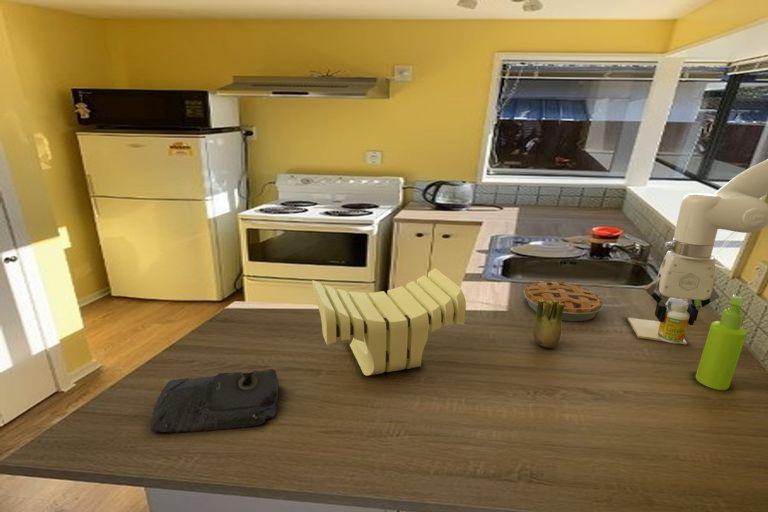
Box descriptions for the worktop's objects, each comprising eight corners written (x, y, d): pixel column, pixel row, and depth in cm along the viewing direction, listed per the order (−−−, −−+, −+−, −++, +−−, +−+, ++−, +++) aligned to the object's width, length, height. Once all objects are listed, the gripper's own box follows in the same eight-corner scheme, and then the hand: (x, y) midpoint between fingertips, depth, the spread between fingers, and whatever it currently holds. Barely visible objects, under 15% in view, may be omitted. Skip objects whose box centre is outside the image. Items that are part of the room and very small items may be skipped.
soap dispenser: (691, 383, 91) (717, 297, 85) (698, 370, 96) (723, 288, 89) (725, 395, 87) (755, 307, 81) (731, 382, 92) (759, 297, 85)
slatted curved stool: (327, 390, 86) (326, 310, 80) (314, 350, 100) (312, 279, 94) (460, 366, 95) (467, 293, 89) (431, 332, 109) (435, 268, 103)
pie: (534, 322, 116) (536, 306, 114) (513, 291, 137) (515, 276, 135) (615, 325, 115) (618, 309, 114) (582, 293, 136) (585, 279, 135)
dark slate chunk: (170, 383, 86) (167, 363, 85) (281, 375, 90) (279, 355, 88) (143, 437, 72) (138, 414, 71) (275, 424, 76) (274, 402, 74)
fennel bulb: (529, 343, 105) (536, 299, 101) (539, 337, 108) (546, 294, 105) (551, 353, 101) (559, 307, 97) (561, 346, 104) (569, 301, 100)
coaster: (671, 325, 117) (672, 323, 116) (686, 344, 107) (687, 342, 106) (627, 319, 119) (627, 317, 119) (638, 337, 109) (638, 335, 109)
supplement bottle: (661, 342, 101) (670, 305, 98) (653, 332, 106) (661, 296, 103) (687, 345, 100) (696, 307, 97) (677, 334, 105) (686, 298, 102)
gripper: (653, 250, 95) (638, 323, 100) (744, 257, 90) (723, 333, 96) (644, 241, 101) (630, 310, 107) (727, 247, 97) (708, 318, 103)
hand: (674, 320), depth 101 cm, fingers closed on supplement bottle, 5 cm apart
